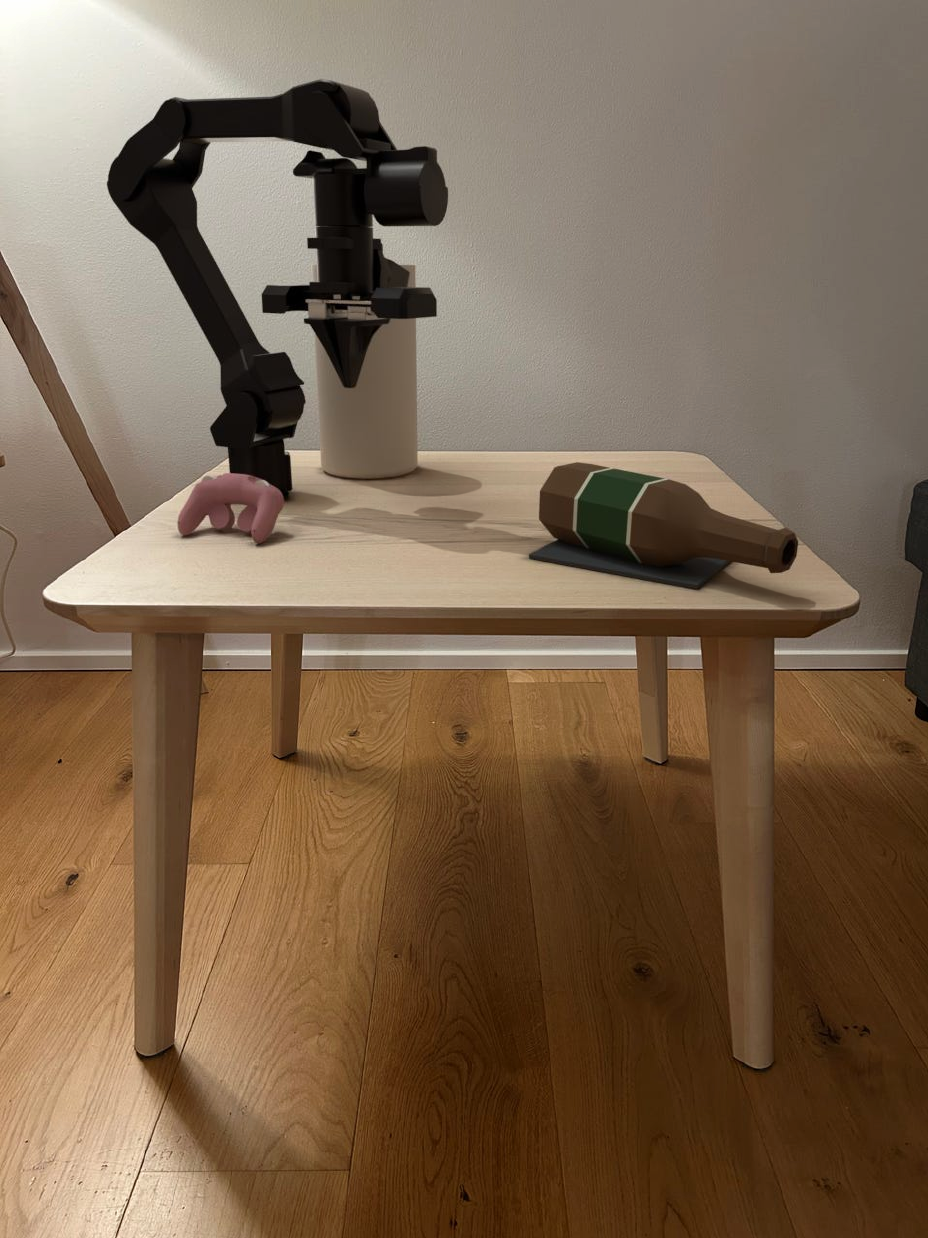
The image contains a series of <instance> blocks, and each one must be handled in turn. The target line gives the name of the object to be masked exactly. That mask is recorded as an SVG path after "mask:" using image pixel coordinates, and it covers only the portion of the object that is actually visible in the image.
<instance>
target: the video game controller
mask: <svg viewBox="0 0 928 1238" xmlns="http://www.w3.org/2000/svg"><path fill="white" fill-rule="evenodd" d="M284 503H285V499H284V498H283V495H282V493H281V492H280V490H279V489H277V488H276V487H274V486H272V485H271V484H269V483H268V482H266V481H265V480H262V479H259V478H257V477H254V476H251V475H245V474H234V473H230V472H225V473H223V474H221V475H220V474H219V475H213V476H212V475H204V476H203V477H202V478H201V481H199V482H197V483H196V484H195V486H194V487H193V488H192V491H191V492H190V495H189V496H188V498H187V500H186V502H185V504H183V507H182V508H181V510H180V511H179V514H178V518H177V523H176V524H177V531H178V532H179V534H180V535H181V536H188V535H190V534H192V533H193V532H194V531H196V529H198V527H199V526H200V525H201V523H203V521H204V520H205V519H206V517H207V516H208V519H209V523H210V524H211V526H212V528H214V529H217V530H219V531H223V532H224V531H229V530H230V529H232V527H233V526H234V525H235V522H236V526H237V527H238V528H239V529H240V530H241V531H242V532H244V533H246V534H250V535H251V538H252V540H253V542H254V543H255V544H258V545H260V544H262V543H264V542H265V541H266V540H267V539H268V538H269V537H270V536H271V534H272V533H273V530H274V529H275V526H276V524H277V520H278V517H279V514H280V513H281V512H282V510H283V508H284ZM232 505H242V506H246V507H244V508H243V509H242V510H241V511H240V512H239V514H238V516H237V519H236V515H235V513H234V511H233V508H232Z"/></svg>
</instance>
